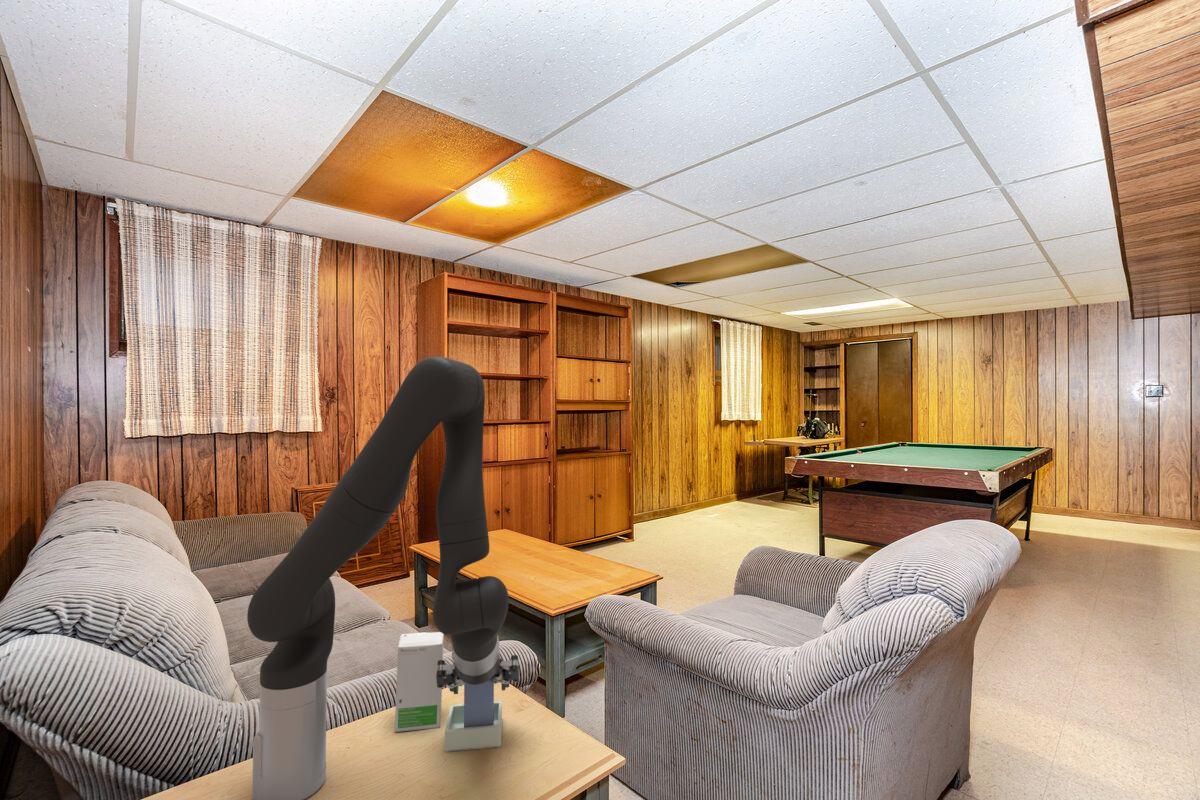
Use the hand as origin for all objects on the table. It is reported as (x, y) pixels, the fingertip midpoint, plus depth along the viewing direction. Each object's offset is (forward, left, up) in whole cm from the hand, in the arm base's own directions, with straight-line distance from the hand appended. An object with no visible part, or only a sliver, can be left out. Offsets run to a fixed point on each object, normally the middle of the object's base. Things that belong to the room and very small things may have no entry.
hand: (480, 686), depth 101 cm
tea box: (0, -1, -8) cm, 8 cm away
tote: (-1, -1, -8) cm, 8 cm away
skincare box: (-11, +5, -8) cm, 15 cm away
